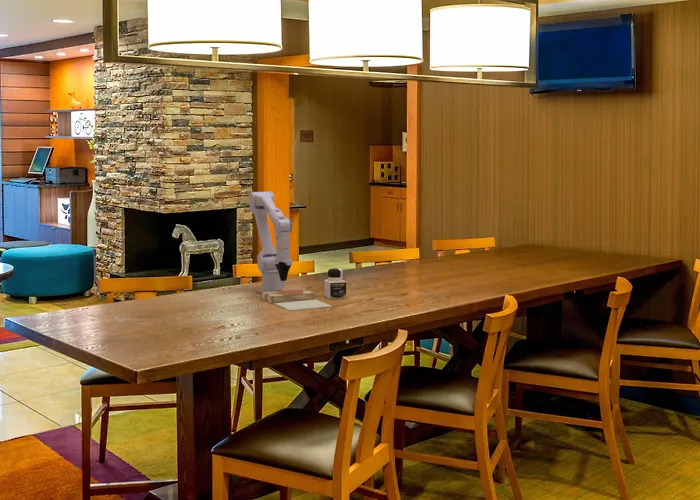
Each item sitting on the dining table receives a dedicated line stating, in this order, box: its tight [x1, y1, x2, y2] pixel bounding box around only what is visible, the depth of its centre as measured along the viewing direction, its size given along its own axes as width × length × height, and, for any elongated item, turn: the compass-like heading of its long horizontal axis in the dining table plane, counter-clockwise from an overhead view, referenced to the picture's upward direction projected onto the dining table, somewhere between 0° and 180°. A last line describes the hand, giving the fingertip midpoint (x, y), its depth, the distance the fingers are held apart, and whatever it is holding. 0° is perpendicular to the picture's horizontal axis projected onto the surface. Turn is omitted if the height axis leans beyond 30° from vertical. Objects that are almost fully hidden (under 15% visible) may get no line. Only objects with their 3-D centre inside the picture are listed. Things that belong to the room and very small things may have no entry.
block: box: [279, 286, 304, 295], centre depth 368 cm, size 6×8×2 cm
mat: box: [273, 299, 333, 312], centre depth 358 cm, size 16×18×1 cm
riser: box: [260, 288, 316, 305], centre depth 371 cm, size 14×18×3 cm
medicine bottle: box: [323, 267, 347, 300], centre depth 375 cm, size 7×7×12 cm
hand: (283, 280), depth 374 cm, fingers closed
